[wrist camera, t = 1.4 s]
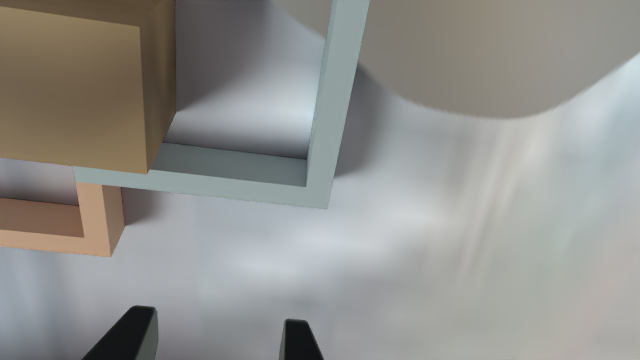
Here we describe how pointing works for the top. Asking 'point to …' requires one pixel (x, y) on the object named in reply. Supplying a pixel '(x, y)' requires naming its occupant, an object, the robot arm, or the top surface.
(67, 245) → the trap box
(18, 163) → the top surface
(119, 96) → the block
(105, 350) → the robot arm
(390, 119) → the top surface
